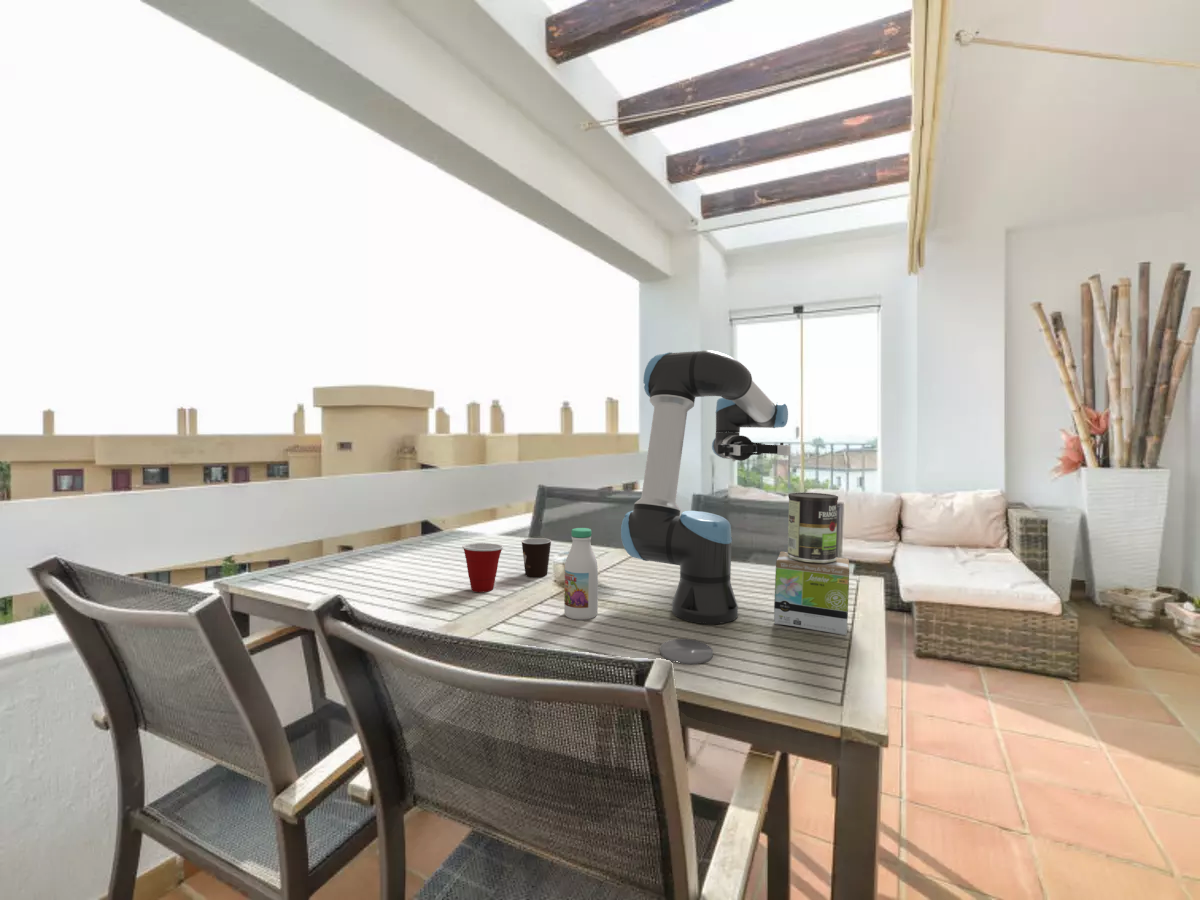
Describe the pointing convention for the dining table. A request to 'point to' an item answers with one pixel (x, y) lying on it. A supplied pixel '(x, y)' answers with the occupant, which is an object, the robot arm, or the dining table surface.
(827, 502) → the coffee can
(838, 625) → the tea box
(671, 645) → the slate coaster
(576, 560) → the milk bottle
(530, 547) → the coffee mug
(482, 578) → the plastic cup
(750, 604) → the dining table surface
